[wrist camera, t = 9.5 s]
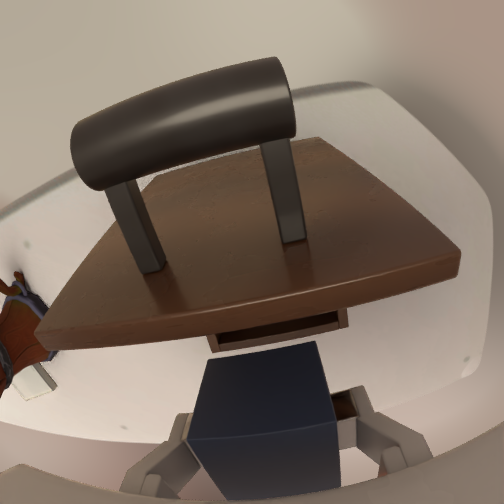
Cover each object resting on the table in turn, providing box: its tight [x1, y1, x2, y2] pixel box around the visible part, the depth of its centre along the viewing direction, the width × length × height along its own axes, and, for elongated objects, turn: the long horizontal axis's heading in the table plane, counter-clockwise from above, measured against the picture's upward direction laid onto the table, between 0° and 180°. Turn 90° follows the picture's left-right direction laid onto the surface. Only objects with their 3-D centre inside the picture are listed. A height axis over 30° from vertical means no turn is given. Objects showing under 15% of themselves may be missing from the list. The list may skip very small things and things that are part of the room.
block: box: [186, 341, 341, 501], centre depth 10 cm, size 4×4×4 cm
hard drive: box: [11, 363, 57, 401], centre depth 37 cm, size 2×8×12 cm
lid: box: [34, 57, 461, 351], centre depth 12 cm, size 15×12×5 cm
